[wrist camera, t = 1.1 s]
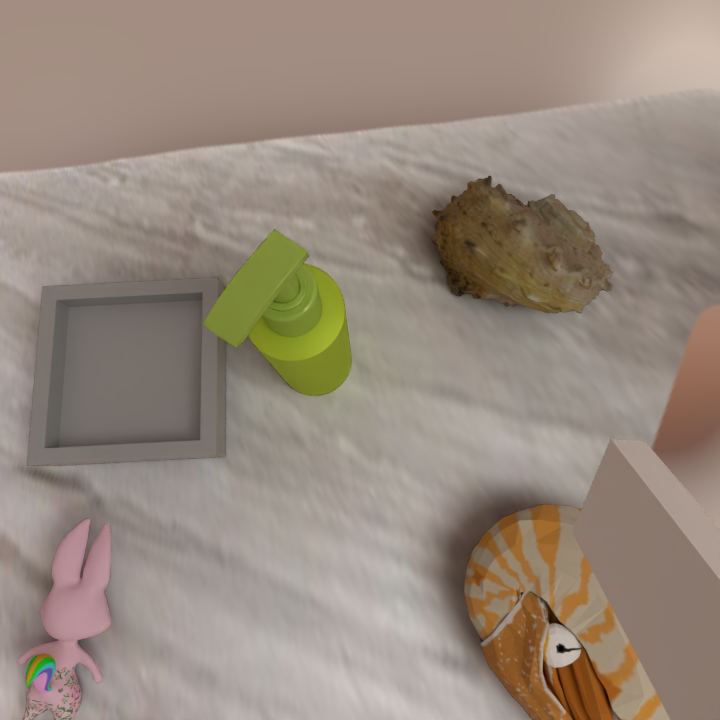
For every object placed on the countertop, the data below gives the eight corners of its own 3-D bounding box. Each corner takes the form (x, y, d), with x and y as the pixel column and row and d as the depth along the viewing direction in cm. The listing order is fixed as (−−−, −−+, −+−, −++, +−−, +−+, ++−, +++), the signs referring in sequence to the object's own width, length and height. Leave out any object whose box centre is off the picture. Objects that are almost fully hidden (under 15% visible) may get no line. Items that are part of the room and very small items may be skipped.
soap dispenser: (257, 379, 42) (162, 296, 22) (308, 312, 43) (259, 178, 24) (315, 420, 41) (269, 371, 22) (365, 351, 42) (364, 246, 23)
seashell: (569, 349, 44) (645, 314, 34) (405, 299, 43) (433, 248, 33) (592, 234, 46) (668, 170, 36) (436, 185, 46) (471, 107, 36)
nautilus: (654, 839, 35) (434, 794, 37) (670, 517, 38) (467, 487, 40) (727, 951, 27) (444, 888, 29) (739, 535, 31) (484, 497, 32)
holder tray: (226, 288, 44) (217, 277, 41) (225, 457, 41) (216, 455, 38) (61, 297, 44) (42, 286, 41) (47, 466, 41) (26, 465, 38)
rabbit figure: (104, 726, 38) (150, 523, 39) (52, 789, 32) (107, 548, 33) (24, 706, 38) (70, 505, 39) (-42, 764, 32) (14, 526, 33)
